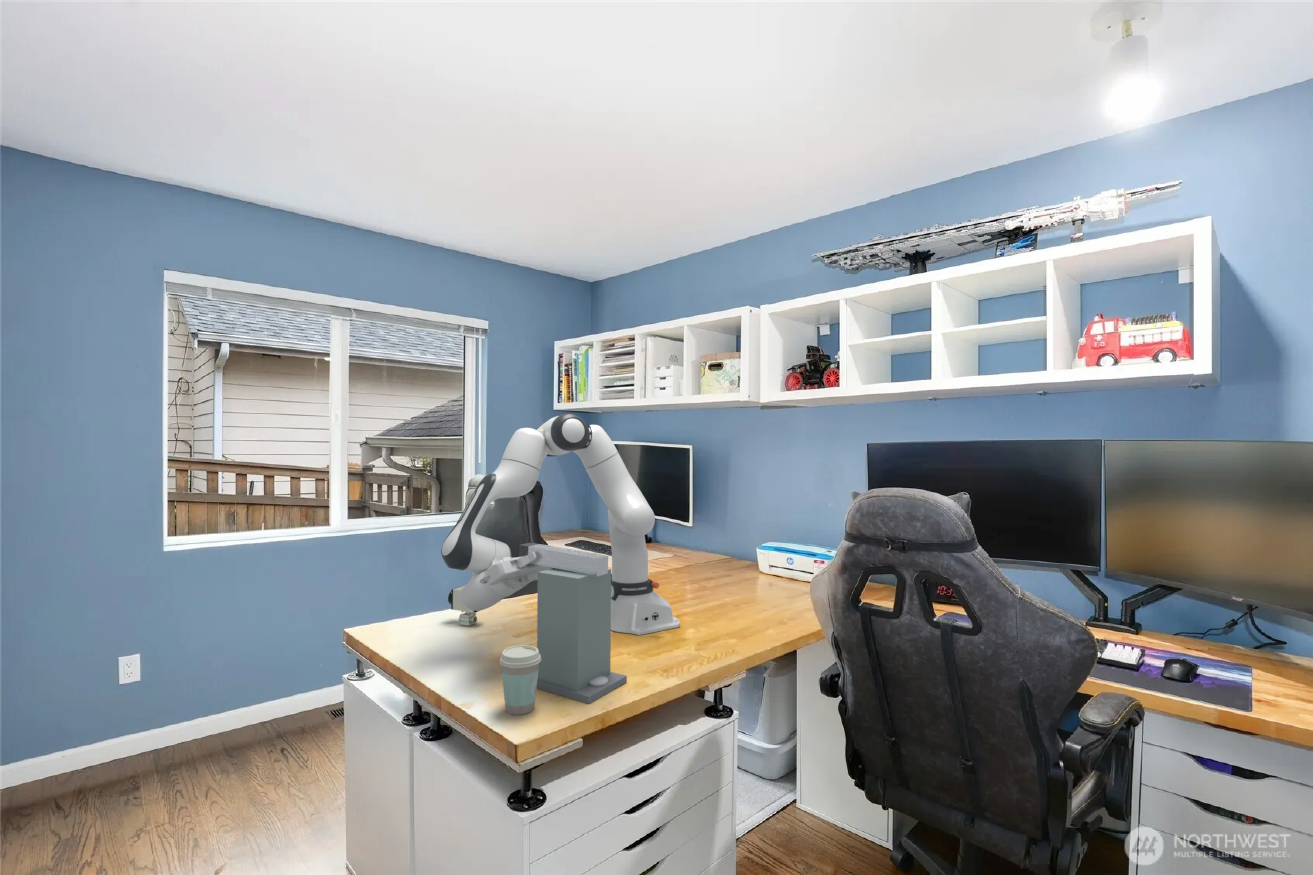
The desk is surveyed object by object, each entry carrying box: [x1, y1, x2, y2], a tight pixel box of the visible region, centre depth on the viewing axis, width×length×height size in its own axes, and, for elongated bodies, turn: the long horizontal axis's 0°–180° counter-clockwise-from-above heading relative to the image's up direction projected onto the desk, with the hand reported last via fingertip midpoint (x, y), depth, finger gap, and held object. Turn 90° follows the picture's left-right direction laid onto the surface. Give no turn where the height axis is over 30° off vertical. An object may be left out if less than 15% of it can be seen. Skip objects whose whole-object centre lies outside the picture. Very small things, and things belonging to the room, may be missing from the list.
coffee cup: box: [498, 644, 541, 716], centre depth 126 cm, size 8×8×12 cm
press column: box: [536, 568, 628, 705], centre depth 139 cm, size 16×14×26 cm
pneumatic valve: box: [447, 585, 482, 627], centre depth 184 cm, size 6×12×12 cm, turn 70°
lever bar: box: [518, 542, 609, 577], centre depth 142 cm, size 24×4×4 cm, turn 58°
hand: (544, 553), depth 145 cm, fingers closed on lever bar, 4 cm apart
